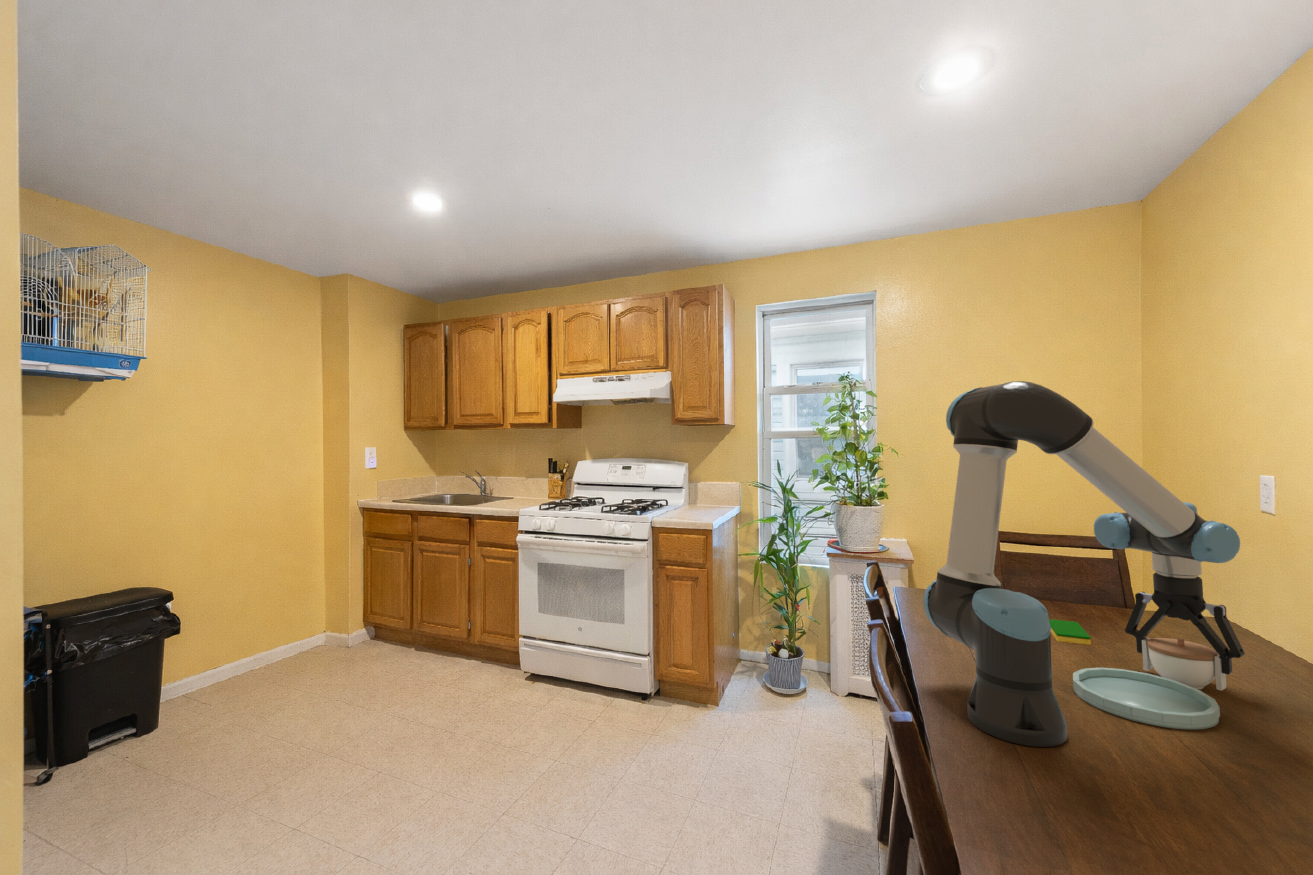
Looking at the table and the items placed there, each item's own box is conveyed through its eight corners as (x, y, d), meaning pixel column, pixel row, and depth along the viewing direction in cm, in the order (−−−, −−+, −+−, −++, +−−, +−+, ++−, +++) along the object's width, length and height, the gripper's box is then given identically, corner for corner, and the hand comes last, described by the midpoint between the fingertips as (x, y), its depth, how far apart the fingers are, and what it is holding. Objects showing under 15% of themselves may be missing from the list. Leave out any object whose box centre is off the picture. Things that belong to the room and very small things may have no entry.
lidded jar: (1188, 673, 116) (1185, 630, 117) (1236, 695, 106) (1233, 647, 106) (1135, 672, 118) (1133, 629, 118) (1178, 693, 107) (1175, 647, 107)
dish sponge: (1077, 630, 147) (1077, 621, 147) (1091, 646, 134) (1091, 637, 134) (1046, 627, 150) (1046, 618, 150) (1057, 642, 138) (1056, 633, 138)
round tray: (1194, 741, 90) (1193, 726, 90) (1053, 694, 108) (1053, 681, 108) (1236, 710, 100) (1235, 696, 100) (1100, 671, 118) (1100, 660, 118)
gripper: (1263, 582, 104) (1270, 695, 103) (1116, 563, 124) (1122, 657, 124) (1250, 587, 101) (1258, 704, 100) (1102, 566, 121) (1107, 663, 120)
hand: (1183, 678), depth 112 cm, fingers open, 11 cm apart
